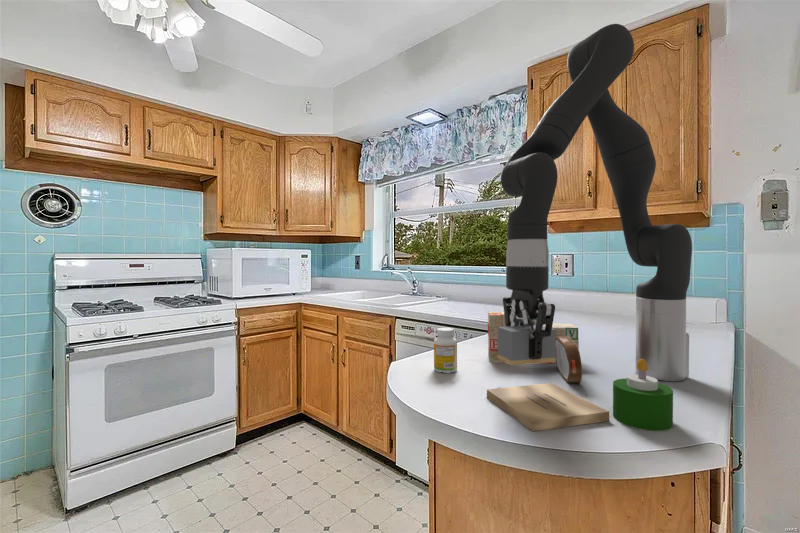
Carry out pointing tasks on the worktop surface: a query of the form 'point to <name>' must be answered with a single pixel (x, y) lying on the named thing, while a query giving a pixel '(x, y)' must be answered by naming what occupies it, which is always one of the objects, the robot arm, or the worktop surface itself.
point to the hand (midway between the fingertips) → (526, 354)
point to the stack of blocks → (499, 321)
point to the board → (546, 406)
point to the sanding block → (523, 346)
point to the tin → (568, 359)
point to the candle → (643, 401)
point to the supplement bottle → (445, 351)
